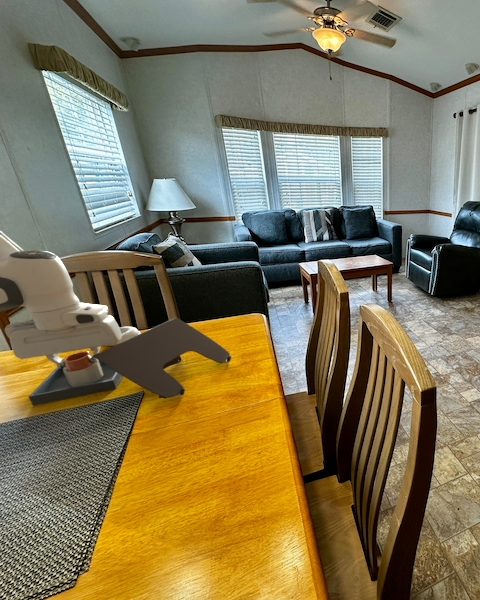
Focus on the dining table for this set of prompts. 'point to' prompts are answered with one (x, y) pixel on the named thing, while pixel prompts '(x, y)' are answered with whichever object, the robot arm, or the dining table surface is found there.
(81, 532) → the dining table surface
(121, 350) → the laptop tray
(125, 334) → the donut
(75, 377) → the cream bowl
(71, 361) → the terracotta bowl
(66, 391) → the tray
